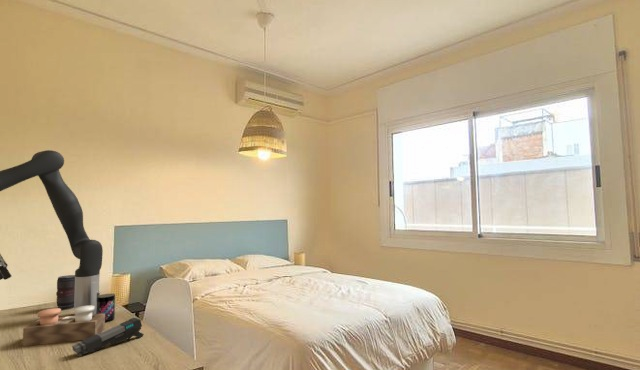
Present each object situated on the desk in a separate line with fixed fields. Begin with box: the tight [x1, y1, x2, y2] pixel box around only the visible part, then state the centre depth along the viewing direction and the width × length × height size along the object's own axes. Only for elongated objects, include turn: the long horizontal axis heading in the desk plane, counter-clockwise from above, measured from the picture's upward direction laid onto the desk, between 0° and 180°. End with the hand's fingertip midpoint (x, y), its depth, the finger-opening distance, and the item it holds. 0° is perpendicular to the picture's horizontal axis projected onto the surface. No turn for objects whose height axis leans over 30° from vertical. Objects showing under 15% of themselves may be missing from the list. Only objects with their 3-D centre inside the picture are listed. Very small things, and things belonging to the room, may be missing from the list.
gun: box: [71, 317, 144, 357], centre depth 116 cm, size 4×20×10 cm, turn 142°
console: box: [22, 314, 106, 347], centre depth 125 cm, size 22×10×6 cm, turn 105°
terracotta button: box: [37, 307, 62, 325], centre depth 124 cm, size 7×7×7 cm
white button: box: [72, 305, 95, 322], centre depth 127 cm, size 7×7×7 cm
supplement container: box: [96, 293, 116, 324], centre depth 144 cm, size 7×7×10 cm
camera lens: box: [56, 274, 75, 311], centre depth 164 cm, size 8×8×15 cm
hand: (4, 279), depth 122 cm, fingers open, 8 cm apart
